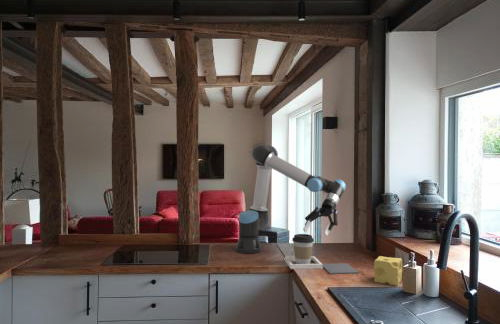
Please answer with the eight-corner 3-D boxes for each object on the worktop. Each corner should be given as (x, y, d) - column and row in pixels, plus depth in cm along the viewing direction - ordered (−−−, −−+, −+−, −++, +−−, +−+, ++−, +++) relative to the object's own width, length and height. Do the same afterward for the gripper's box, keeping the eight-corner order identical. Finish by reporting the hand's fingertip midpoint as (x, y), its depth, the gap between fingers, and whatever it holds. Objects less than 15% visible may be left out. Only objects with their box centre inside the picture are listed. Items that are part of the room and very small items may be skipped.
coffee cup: (318, 264, 195) (318, 235, 195) (305, 268, 187) (305, 238, 187) (300, 260, 203) (300, 232, 203) (287, 264, 195) (287, 235, 195)
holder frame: (284, 260, 202) (284, 256, 202) (314, 259, 204) (314, 256, 204) (290, 268, 186) (290, 264, 186) (322, 268, 188) (322, 264, 188)
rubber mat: (320, 264, 194) (320, 263, 194) (346, 264, 195) (346, 263, 195) (330, 274, 178) (330, 272, 178) (358, 273, 179) (358, 272, 179)
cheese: (398, 286, 161) (398, 263, 161) (372, 282, 166) (372, 259, 166) (402, 280, 169) (402, 258, 169) (378, 276, 175) (378, 254, 175)
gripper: (352, 209, 205) (337, 240, 194) (315, 205, 223) (299, 233, 212) (347, 200, 201) (331, 231, 190) (309, 196, 219) (293, 225, 208)
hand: (314, 232), depth 201 cm, fingers open, 13 cm apart
